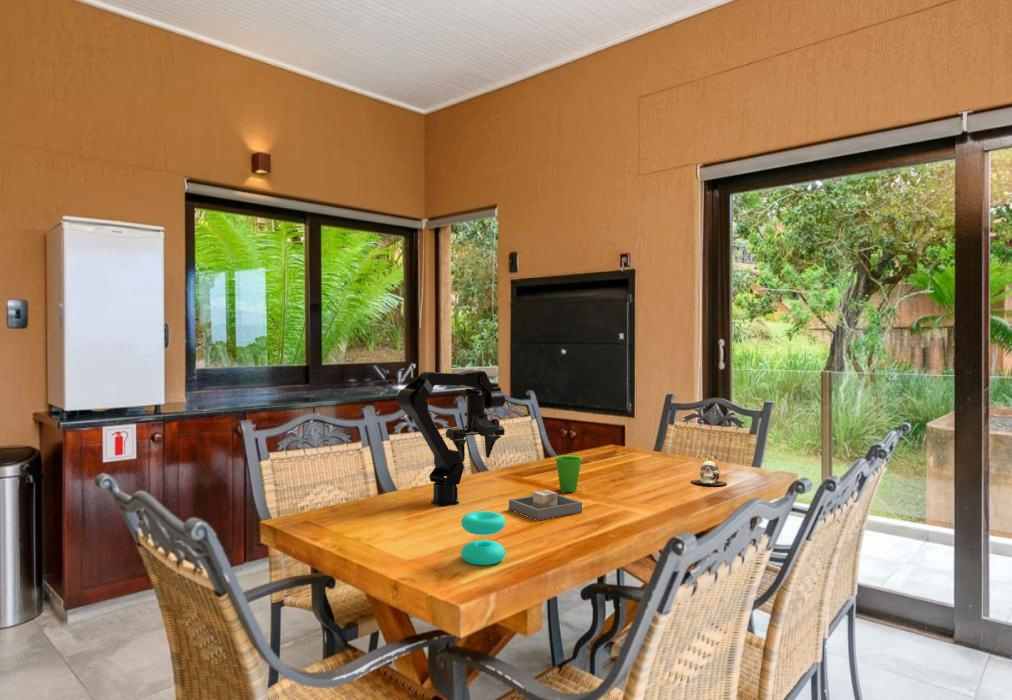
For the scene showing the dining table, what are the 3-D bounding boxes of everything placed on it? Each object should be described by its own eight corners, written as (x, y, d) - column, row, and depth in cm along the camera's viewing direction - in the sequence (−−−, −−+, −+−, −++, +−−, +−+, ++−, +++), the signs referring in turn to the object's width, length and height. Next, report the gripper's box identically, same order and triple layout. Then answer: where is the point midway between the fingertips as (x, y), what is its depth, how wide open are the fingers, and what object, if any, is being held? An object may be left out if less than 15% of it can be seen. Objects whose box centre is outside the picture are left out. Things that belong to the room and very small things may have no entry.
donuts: (511, 512, 148) (495, 523, 139) (511, 555, 149) (495, 569, 139) (472, 508, 152) (453, 518, 143) (471, 550, 152) (453, 563, 143)
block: (543, 512, 184) (543, 495, 184) (533, 508, 188) (533, 491, 188) (557, 510, 186) (557, 493, 186) (546, 506, 191) (546, 489, 191)
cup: (587, 491, 213) (587, 457, 213) (570, 495, 206) (571, 461, 206) (565, 486, 219) (566, 454, 219) (549, 491, 212) (549, 457, 212)
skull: (726, 485, 217) (705, 461, 220) (703, 503, 221) (683, 479, 224) (732, 478, 228) (712, 455, 231) (710, 495, 232) (691, 472, 235)
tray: (537, 521, 177) (537, 510, 177) (508, 509, 188) (509, 499, 188) (581, 512, 186) (582, 502, 186) (551, 502, 197) (551, 492, 197)
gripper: (463, 414, 192) (462, 466, 192) (514, 410, 202) (514, 460, 202) (445, 410, 201) (444, 460, 201) (495, 407, 211) (494, 454, 212)
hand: (475, 459), depth 204 cm, fingers open, 9 cm apart
